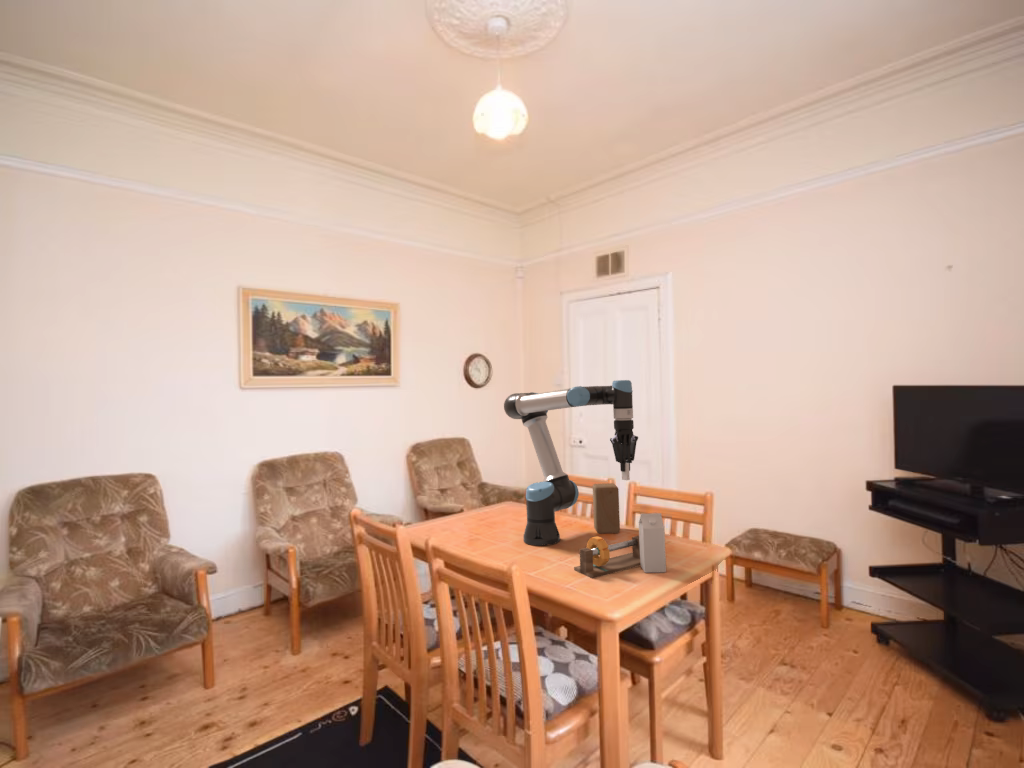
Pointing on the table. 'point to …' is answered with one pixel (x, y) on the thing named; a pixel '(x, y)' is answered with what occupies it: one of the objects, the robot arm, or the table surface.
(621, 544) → the pipe
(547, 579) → the table surface
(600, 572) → the rack
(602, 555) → the ring
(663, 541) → the milk carton
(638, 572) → the table surface
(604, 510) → the wooden block
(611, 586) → the table surface
